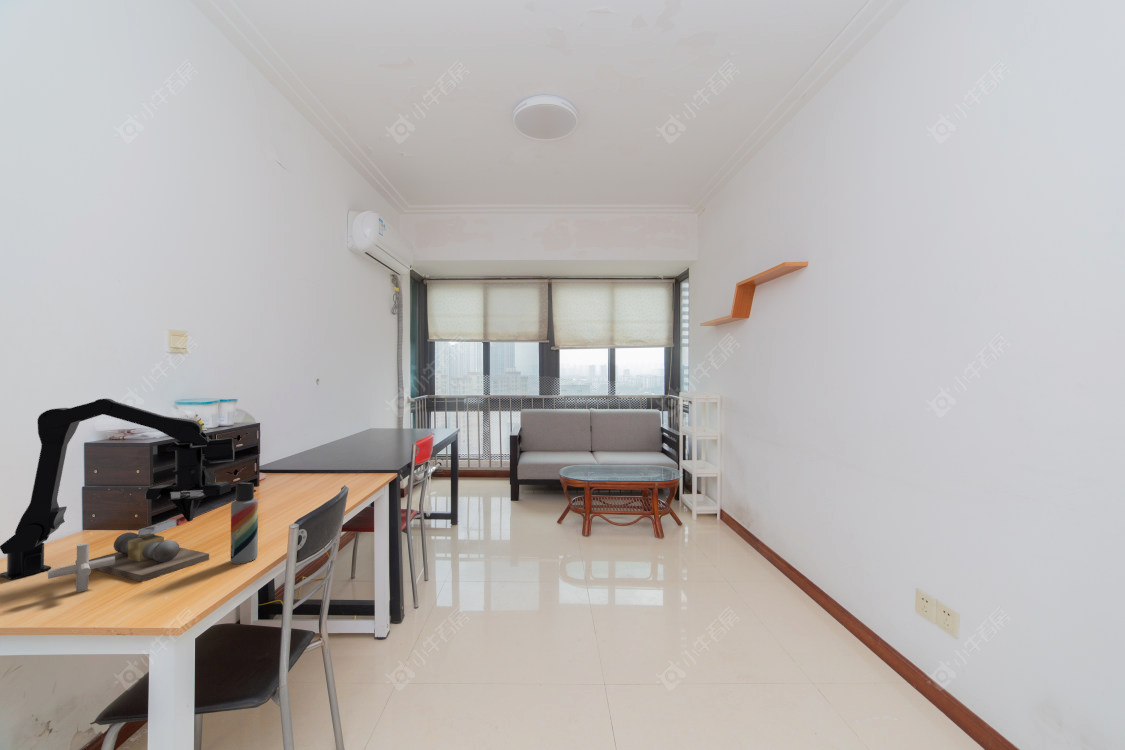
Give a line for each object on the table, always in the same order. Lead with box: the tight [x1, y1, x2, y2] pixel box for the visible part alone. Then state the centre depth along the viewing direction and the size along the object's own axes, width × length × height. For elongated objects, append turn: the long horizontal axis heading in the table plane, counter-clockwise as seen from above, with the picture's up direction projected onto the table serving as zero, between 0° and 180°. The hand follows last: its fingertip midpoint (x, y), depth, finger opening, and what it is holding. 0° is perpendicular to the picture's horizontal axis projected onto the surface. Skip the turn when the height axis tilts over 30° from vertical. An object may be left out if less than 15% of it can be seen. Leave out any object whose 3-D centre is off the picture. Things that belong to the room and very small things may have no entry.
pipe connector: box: [47, 542, 115, 593], centre depth 99 cm, size 10×10×10 cm
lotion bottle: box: [230, 481, 259, 565], centre depth 115 cm, size 6×6×20 cm
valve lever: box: [137, 513, 189, 538], centre depth 120 cm, size 15×3×2 cm, turn 3°
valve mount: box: [89, 531, 210, 583], centre depth 113 cm, size 24×14×6 cm, turn 69°
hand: (189, 521), depth 125 cm, fingers closed
